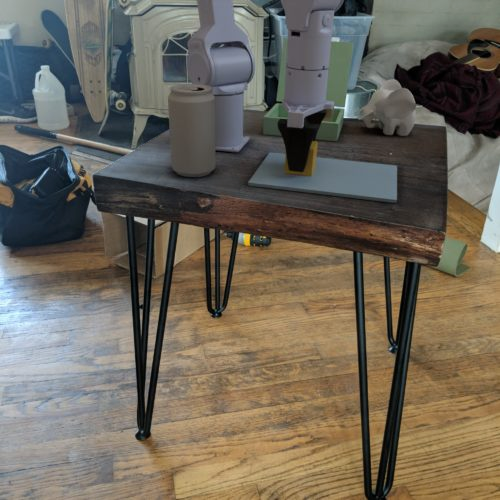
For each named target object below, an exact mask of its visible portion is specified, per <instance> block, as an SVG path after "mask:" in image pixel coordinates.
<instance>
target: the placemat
mask: <svg viewBox="0 0 500 500" xmlns="http://www.w3.org/2000/svg"><path fill="white" fill-rule="evenodd" d="M285 155H286V153H281V152H271V151H270V152H269V153H268V154H267V155H266V157H265V158H264V160H263V161H262V162H261V163H260V165H259V166H258V168H257V169H256V170H255V172H254V173H253V175H252V176H251V178H250V179H249V180H248V182H247V186H250V187H258V188H259V187H260V188H265V189H273V190H274V189H275V190H283V191H291V192H300V193H306V194H307V193H308V194H314V195H315V194H317V195H324V196H334V197H341V198H349V199H358V200H367V201H374V202H382V203H391V204H397V201H398V165H396V164H395V165H394V164H384V163H375V162H366V161H357V160H347V159H337V158H326V157H319V156H317V157H316V167H315V170H314V172H313V174H312V176H304V175H295V174H286V173H284V171H285Z"/></svg>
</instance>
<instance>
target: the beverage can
mask: <svg viewBox="0 0 500 500" xmlns="http://www.w3.org/2000/svg"><path fill="white" fill-rule="evenodd" d="M169 91H170V92H169V94H168V96H167V109H168V123H169V124H168V125H169V126H168V127H169V145H170V164H171V169H172V170H173V171H174V172H176V174H177V175H180V176H182V177H187V178H201V177H204V176H208V175H210V174H211V173H212V171H214V170H215V169H216V150H215V97H214V95H213V94H212V92H211V91H212V88H211V87H210V86H207V85H200V84H192V83H183V84H175V85H172V86H170V87H169Z"/></svg>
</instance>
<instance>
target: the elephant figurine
mask: <svg viewBox="0 0 500 500" xmlns="http://www.w3.org/2000/svg"><path fill="white" fill-rule="evenodd" d="M420 108H423V105H417V103H416V100H415V98H414V95H413V94H412V92H411V91H410V90H409V89H408V88H406V87H402V85H401V84H400V82H399V81H398V80H397V79H395V78H391V79H388V80H385V81H383V82H382V84H381V85H380V87H379V89H376V91H374V92H373V94H372V95H371V97H370V100H369V101H368V103H367V104H366V105H364V106H362V107H361V108H360V109H359V110H357V111H356V112H355V113H354V115H358V114H359V113H361V112H362V116H361V117H360V118H358V121H362V122H363V123H364V125H365V126H366V127H367V128H369V129H373V128H375V127H376V125H377V124H378V128H379V129H381V130H382V134H384V135H385V136H393V135H394V132H395V131H396V135H397V136H399V137H407V136H409V134H410V133H411V131H412V130H413V128H414V126H415V123H416V118H417V114H416V110H419V109H420ZM374 119H376V120H378V123H377V124H376V123H375V122H374Z"/></svg>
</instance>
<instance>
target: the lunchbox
mask: <svg viewBox="0 0 500 500" xmlns="http://www.w3.org/2000/svg"><path fill="white" fill-rule="evenodd" d="M344 117H345V108H341V107H334V114H333V122H326V121H322V122H321V126H320V128H319V130H318V132H317V136H316V139H315V140H316V141H317V140H318V141H326V142H327V141H328V142H338V140H339V136H340V134H341V132H342V128H343V125H344ZM279 119H288V113H287V112H286V110H285V109H284V107H283V105H282V102H277V103H275V104H274V105H273V106H272V107H271V108H270V109H269V110H268V111H267V112H266V113H265V115H264V116H263V121H262V123H263V124H262V135H267V136H277V137H282V135H281V133H280V131H279V129H278V121H279Z"/></svg>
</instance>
